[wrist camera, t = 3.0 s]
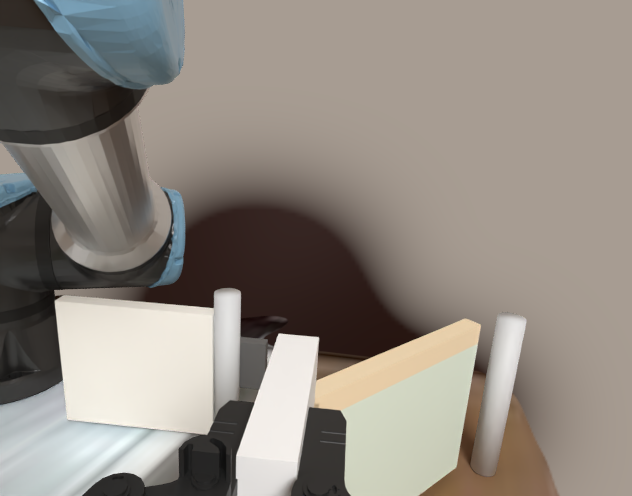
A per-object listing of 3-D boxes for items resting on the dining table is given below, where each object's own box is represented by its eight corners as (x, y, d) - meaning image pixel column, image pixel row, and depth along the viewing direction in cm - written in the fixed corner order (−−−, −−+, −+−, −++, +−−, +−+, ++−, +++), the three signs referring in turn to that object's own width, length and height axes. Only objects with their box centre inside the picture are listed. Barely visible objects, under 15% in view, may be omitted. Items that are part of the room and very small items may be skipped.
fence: (83, 410, 52) (70, 270, 47) (489, 453, 49) (517, 309, 45) (65, 430, 49) (49, 282, 44) (498, 477, 46) (530, 325, 41)
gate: (443, 458, 47) (465, 318, 42) (456, 467, 46) (480, 324, 41) (273, 577, 34) (281, 395, 30) (286, 593, 33) (296, 407, 29)
